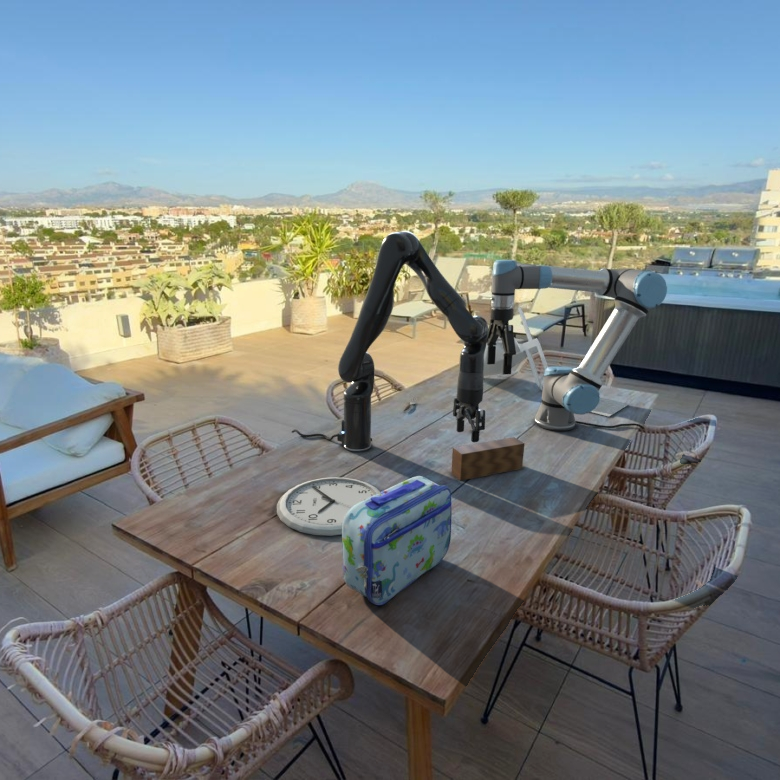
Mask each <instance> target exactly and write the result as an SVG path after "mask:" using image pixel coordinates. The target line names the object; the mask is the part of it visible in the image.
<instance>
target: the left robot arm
mask: <svg viewBox="0 0 780 780" xmlns="http://www.w3.org/2000/svg"><path fill="white" fill-rule="evenodd" d="M404 265H406V266H408V267H409V268H410V269H411V270H412V271H413V272H414V273H415V274H416V275H417V276H418V278H419V279H420V281H421V283H422V285H423V286H424V289H425V292H426V293H427V295H428V297H429V299H430V300H431V302H432V303H433V304H434V306H435V307H436V308H437V309H438V310H439V311H440V312H441V313H442V315H443V316H444V317H446V319H447V321H448V323H449V324H450V327H451V328H452V329H453V331H454V333H455V334H456V336H457V337H458V338H459V339H460V340H461V341H462V342H463V348H462V350H461V352H460V354H459V362H458V363H459V365H458V373H457V374H458V375H457V384H456V385H457V387H456V397H455V398H454V399H453V409H452V416H453V417H455V421H456V432H457V433H463V432H465V419H466V420H467V422H468V424H470V426H471V436H470V441H471V442H472V443H479V441H480V431H485V429H486V410H485V409H480V407H479V405H480V403H482V402H483V399H484V383H485V381H484V380H485V379H484V378H485V376H484V374H483V370H484V353H485V349H486V344H487V339H488V329H489V323H488V322H487V320H486V319H485V318H484V317H483V316H480V315H473V314H471V312H470V311H469V310H468V308H467V303H466V301H465V299H464V298H463V297H462V296H461V294H460V293H459V292H458V291H457V290H456V288H454V287H453V286H452V285H451V283H450V282H449V281H448V280H447V279H446V278H445V276H444V275H443V274H442V272H441V271H440V270H439V269H438V267H437V266H436V264H435V262H434V261H433V260H432V258H431V257H430V255H429V254H428V252H427V250H426V249H425V247H424V246H423V244H422V243H421V242H420V240H419V238H418V237H417V236H416V235H415V234H414V233H413V232H411V231H408V230H407V231H406V230H405V231H396V232H392V233H390V234H388V235H387V236H385V237H384V239H383V240H382V242H381V245H380V248H379V251H378V256H377V260H376V264H375V268H374V271H373V275H372V278H371V281H370V283H369V286H368V289H367V291H366V294H365V297H364V299H363V301H362V305H361V308H360V310H359V313H358V316H357V320H356V323H355V325H354V328H353V330H352V333H351V335H350V338H349V341H348V343H347V345H346V346H345V349H344V350H343V353H342V355H341V357H340V358H339V362H338V364H337V365H338V367H337V371H338V376H339V378H340V379H341V381H343V382H345V383H347V384H349V383H350V384H349V386H347V388H346V389H345V390H344V392H343V419H342V420H341V421H340V422H341V423H340V424H341V431H339V432H338V433H336V434H333V435H332V436H331V437H328V436H327V435H325V434H323V433H312V434H303V433H301V432H300V431H299V430H298V429H293V430H292V431H291V433H296V434H298V435H299V436H300V437H303V438H311V437H323V438H324V439H325V440H327V441H332V440H334V438H337V439H336V440H337V442H341V447H342V448H344V449H345V450H346V451H349V452H356V453H357V452H366V451H368V450H370V449H371V448H372V442H373V438H372V395H373V392H374V388H375V362H374V359H373V357H372V355H371V354H370V353H369V352H368V350H369V349H370V347H371V346H372V344H373V343H374V342H375V341H376V340H377V339H378V338H379V337H380V335H381V334H382V332H384V330H385V329H386V327H387V325H388V323H389V320H390V318H391V315H392V313H393V311H394V310H393V309H394V304H395V285H396V282H397V280H398V278H399V275H400V272H401V271H402V268H403V267H404ZM457 410H458V411H457Z"/></svg>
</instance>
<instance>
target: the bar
mask: <svg viewBox="0 0 780 780" xmlns="http://www.w3.org/2000/svg"><path fill="white" fill-rule="evenodd" d="M525 444H526V443H525V442H523V441H521V440H520V439H518V438H516V437H514V436H513V437H507V438H501V439H494V440H489V441H482V442H475V443H470V444H464V445H459V446H453V447H452V456H451V474H452V475H453V476H454V477H456V479H458V480H459V481H465V480H470V479H476V478H481V477H486V476H492V475H497V474H502V473H506V472H511V471H512V472H513V471H517V470H522V469H523V462H524V454H525Z"/></svg>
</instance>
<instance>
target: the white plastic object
mask: <svg viewBox="0 0 780 780" xmlns="http://www.w3.org/2000/svg"><path fill="white" fill-rule="evenodd" d="M517 310H518V314H519V316H520V319H521V322H522V325H523V328H524V332H525V334H526V338H527V341H525V342H523V343H519V342H518V341H517V338H516V337H514V341H515V348H516V355H512V367H511V369H513V368H514V367H516V366H517V365H519V363H521V362H522V361H524V360H525V359H526V358H527V359H528V363H529V367H530V369H531V372H532V375H533V378H534V381H535V384H536V385H537V386H538V388H539V389H540V391H543V384H542V382H541V380H540V376H539V374H538V370H537V367H536V365H535V361H534V358H533V355H534V354H536V353H538V355H539V357H540V360H541V363H542V367H543V369H544V371H545V370H546V368H548V367H549V366H548V363H547V359H546V357H545V353H544V350H543V348H542V345H541V342H540V340H539V339H538V338H537V337H535V338H533V336H532V334H531V331H530V328H529V325H528V322H527V319H526V316H525V313H524V311H523V309H522V307H520V306H519V307H517ZM493 346H496V353H495V364H487V354H488V345H487V344H486V349H485V353H484V370H483V374H484V377H488V376H489V377H490V376H497V375H498V376H499V377H501V376H504V375H503V359H504V356H503V354H504V353H505V352H504V348H503V344H502V340H497V341H496V345H493Z"/></svg>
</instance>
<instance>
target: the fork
mask: <svg viewBox="0 0 780 780" xmlns="http://www.w3.org/2000/svg"><path fill="white" fill-rule="evenodd" d="M418 398H419V397H418V396H413V397H412V398H411V400H410V402H409V404H408V405H407V406H406V407H405V409H404V410H403V412H405V411H407V410H408V409H410V408H411V406H412V405H416V404H417V402H418Z"/></svg>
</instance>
